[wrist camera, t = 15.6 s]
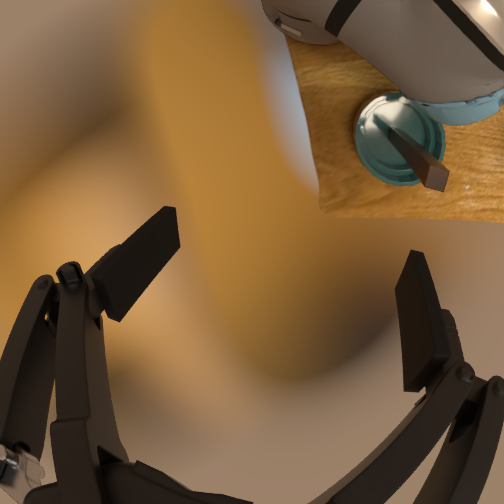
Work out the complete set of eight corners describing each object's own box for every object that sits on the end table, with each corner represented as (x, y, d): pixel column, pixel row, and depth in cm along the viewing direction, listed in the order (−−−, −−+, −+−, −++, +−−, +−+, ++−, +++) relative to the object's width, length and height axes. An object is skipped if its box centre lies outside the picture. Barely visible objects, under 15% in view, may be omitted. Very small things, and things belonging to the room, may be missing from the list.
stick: (389, 126, 34) (430, 164, 18) (402, 129, 34) (450, 171, 18) (387, 139, 35) (424, 187, 20) (399, 142, 35) (444, 192, 19)
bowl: (357, 82, 33) (361, 82, 28) (438, 104, 30) (452, 109, 25) (347, 162, 40) (348, 174, 35) (422, 181, 37) (433, 195, 33)
